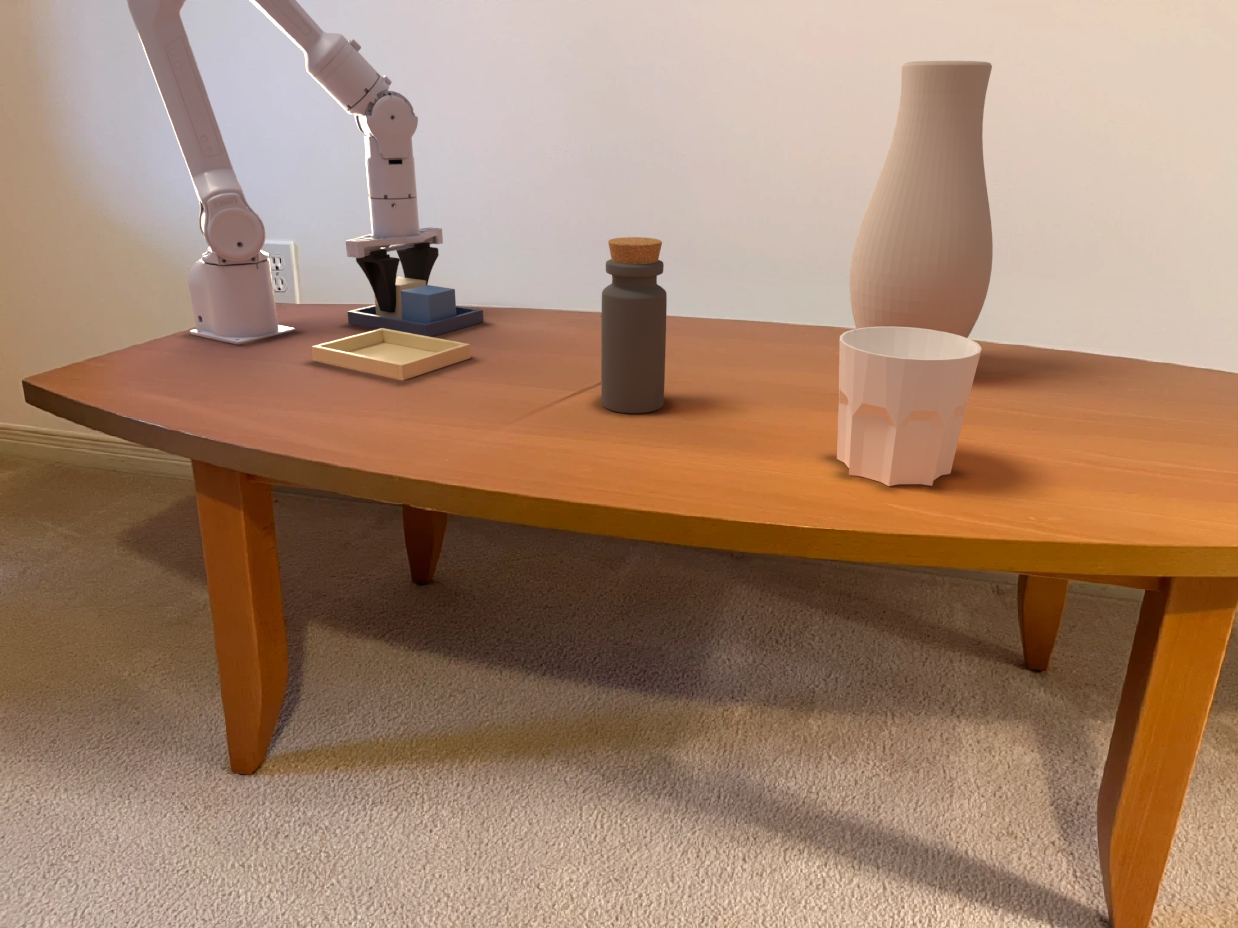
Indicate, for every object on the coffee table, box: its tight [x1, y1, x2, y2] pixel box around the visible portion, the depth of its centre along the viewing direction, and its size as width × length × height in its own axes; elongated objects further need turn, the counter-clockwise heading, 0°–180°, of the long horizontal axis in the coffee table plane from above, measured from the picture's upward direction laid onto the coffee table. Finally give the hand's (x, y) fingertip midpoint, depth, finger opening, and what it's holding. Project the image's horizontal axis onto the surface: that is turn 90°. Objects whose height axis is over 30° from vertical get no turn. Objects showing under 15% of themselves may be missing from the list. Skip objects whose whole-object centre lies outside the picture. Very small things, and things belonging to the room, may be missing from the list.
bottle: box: [600, 236, 668, 414], centre depth 81 cm, size 6×6×15 cm
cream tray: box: [311, 328, 471, 381], centre depth 96 cm, size 13×10×2 cm
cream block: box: [373, 276, 426, 320], centre depth 114 cm, size 5×5×5 cm
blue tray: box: [347, 304, 484, 337], centre depth 112 cm, size 13×10×2 cm
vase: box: [849, 60, 994, 339], centre depth 91 cm, size 14×14×30 cm
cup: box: [836, 327, 983, 487], centre depth 68 cm, size 10×10×10 cm
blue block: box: [401, 284, 457, 324], centre depth 109 cm, size 5×5×5 cm
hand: (402, 307), depth 114 cm, fingers closed on cream block, 4 cm apart
